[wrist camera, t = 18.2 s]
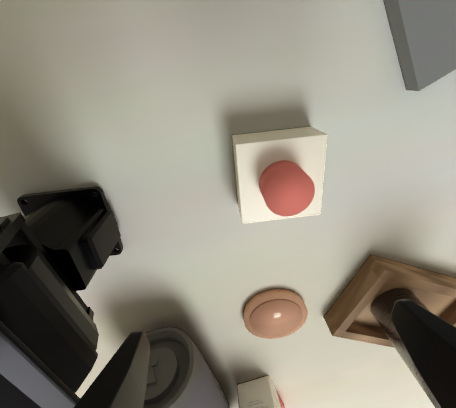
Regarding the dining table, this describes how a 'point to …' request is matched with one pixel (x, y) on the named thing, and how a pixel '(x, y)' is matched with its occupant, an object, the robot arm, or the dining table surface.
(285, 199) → the button
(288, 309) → the domed saucer
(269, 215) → the white square base
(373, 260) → the wooden tray
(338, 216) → the dining table surface
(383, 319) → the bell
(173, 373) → the bluetooth speaker
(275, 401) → the ink cartridge box
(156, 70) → the dining table surface
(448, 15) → the grey flat panel
